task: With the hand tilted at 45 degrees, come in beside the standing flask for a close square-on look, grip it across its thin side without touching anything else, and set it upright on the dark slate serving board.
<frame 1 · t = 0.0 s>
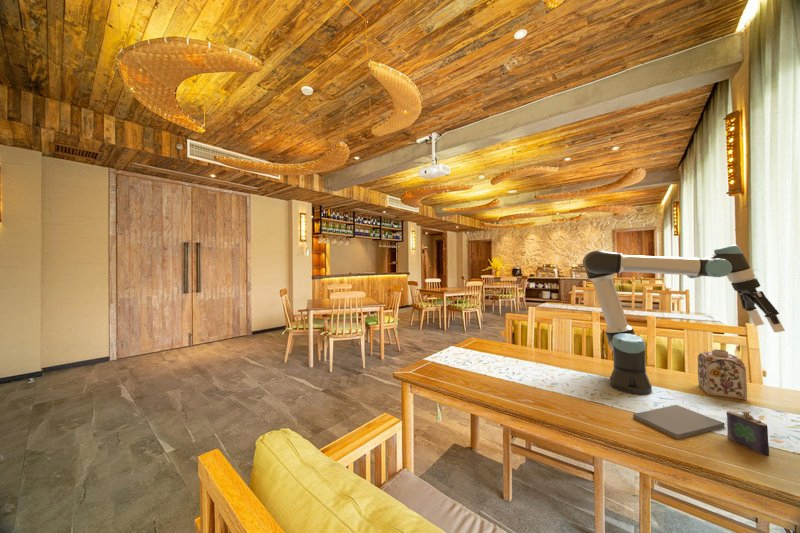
hand: (769, 328, 121), 28 cm above the table, tool tilted 20°, fingers open, 13 cm apart
decorative jar: (721, 392, 125), on the table
flask: (748, 447, 89), on the table
slate board: (677, 422, 103), on the table
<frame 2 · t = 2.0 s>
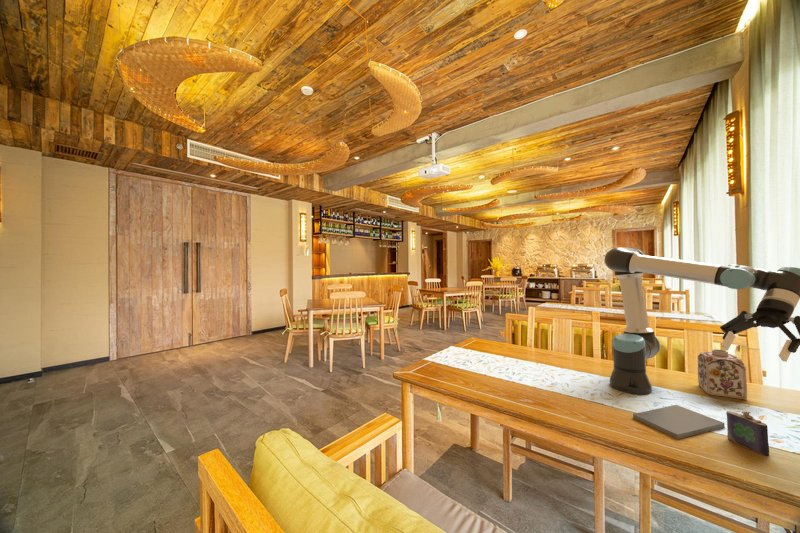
hand: (751, 353, 97), 26 cm above the table, tool tilted 45°, fingers open, 13 cm apart
nothing on the table moved.
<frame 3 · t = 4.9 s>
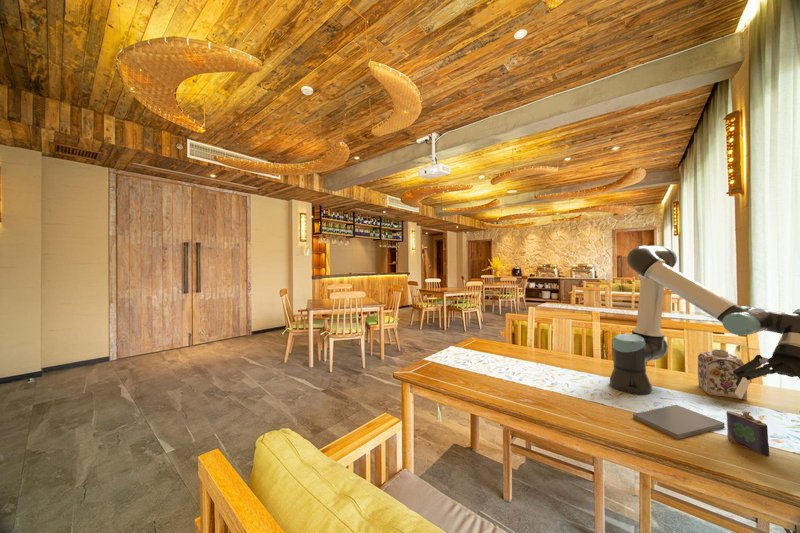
hand: (768, 404, 90), 12 cm above the table, tool tilted 45°, fingers open, 13 cm apart
nothing on the table moved.
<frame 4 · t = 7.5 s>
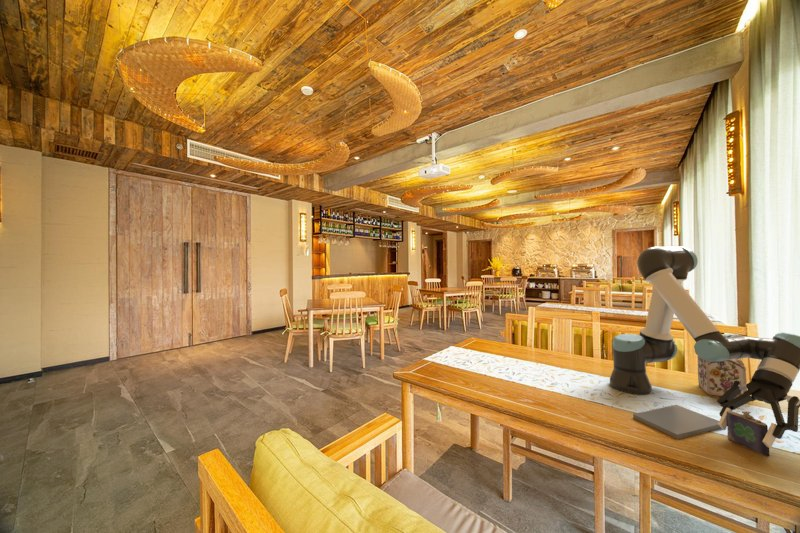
hand: (742, 435, 88), 4 cm above the table, tool tilted 45°, fingers closed on flask, 9 cm apart
flask: (748, 447, 89), on the table, touching gripper
everything else where it was.
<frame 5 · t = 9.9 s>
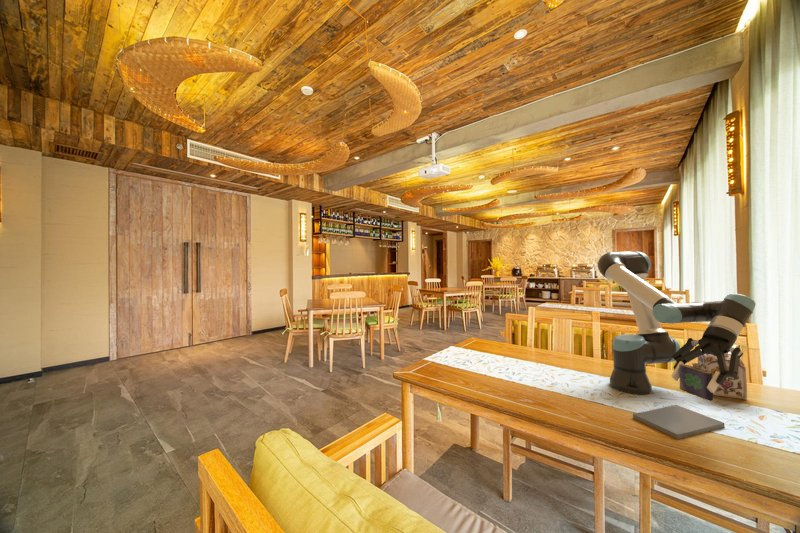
hand: (691, 384, 98), 16 cm above the table, tool tilted 45°, fingers closed on flask, 9 cm apart
flask: (696, 394, 99), point 12 cm above the table, touching gripper
everything else where it was.
when the fingers open (7 cm above the table, at t = 12.5 s): flask drops 1 cm, resting on slate board.
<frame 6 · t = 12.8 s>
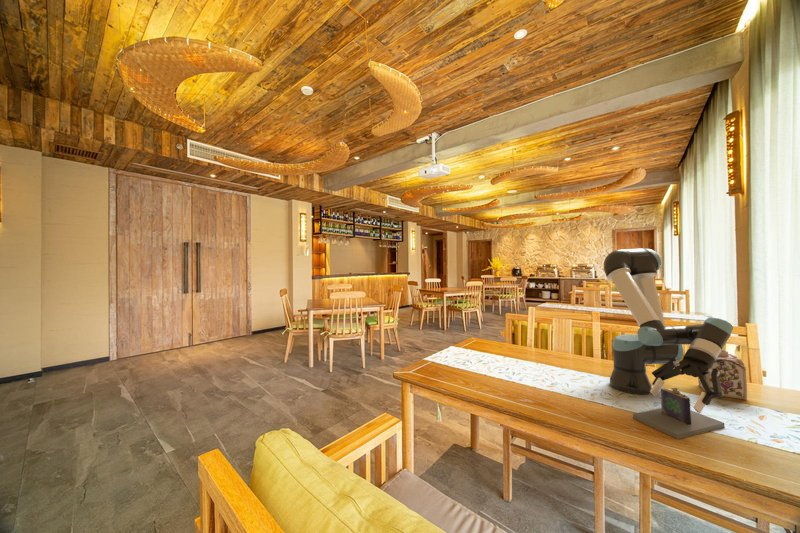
hand: (673, 401, 103), 8 cm above the table, tool tilted 45°, fingers open, 13 cm apart
flask: (676, 418, 104), point 1 cm above the table, touching slate board
everything else where it was.
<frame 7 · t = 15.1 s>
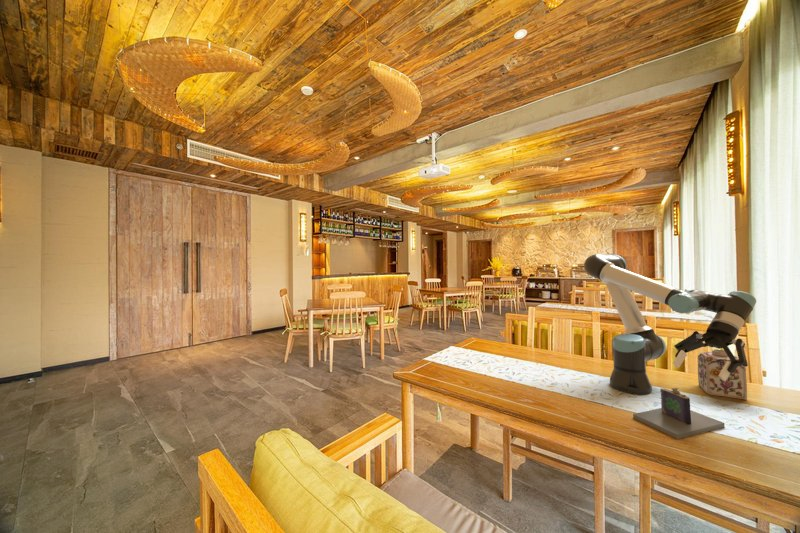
hand: (697, 371, 106), 17 cm above the table, tool tilted 45°, fingers open, 13 cm apart
nothing on the table moved.
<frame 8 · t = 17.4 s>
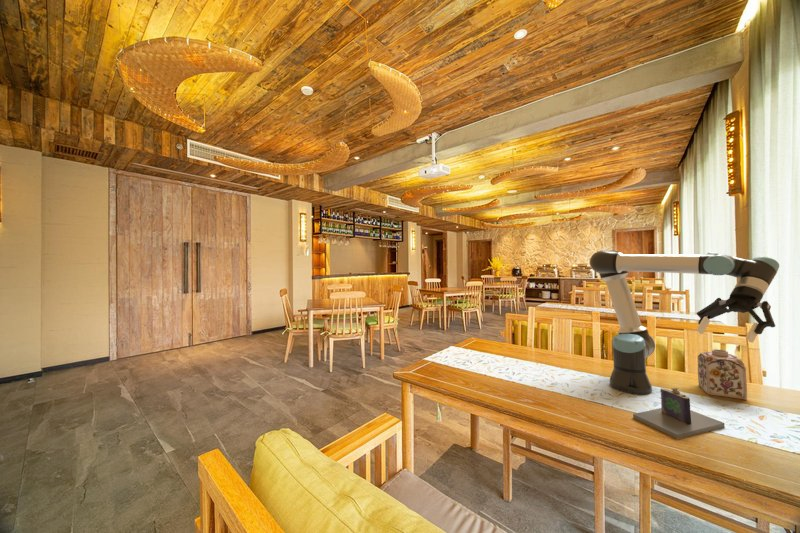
hand: (722, 335, 106), 30 cm above the table, tool tilted 45°, fingers open, 13 cm apart
nothing on the table moved.
at the end: flask inside the target area on the slate board (0.2 cm from its centre), point 1.3 cm above the slate board's base; flask tilted 0°; the gripper is holding nothing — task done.
